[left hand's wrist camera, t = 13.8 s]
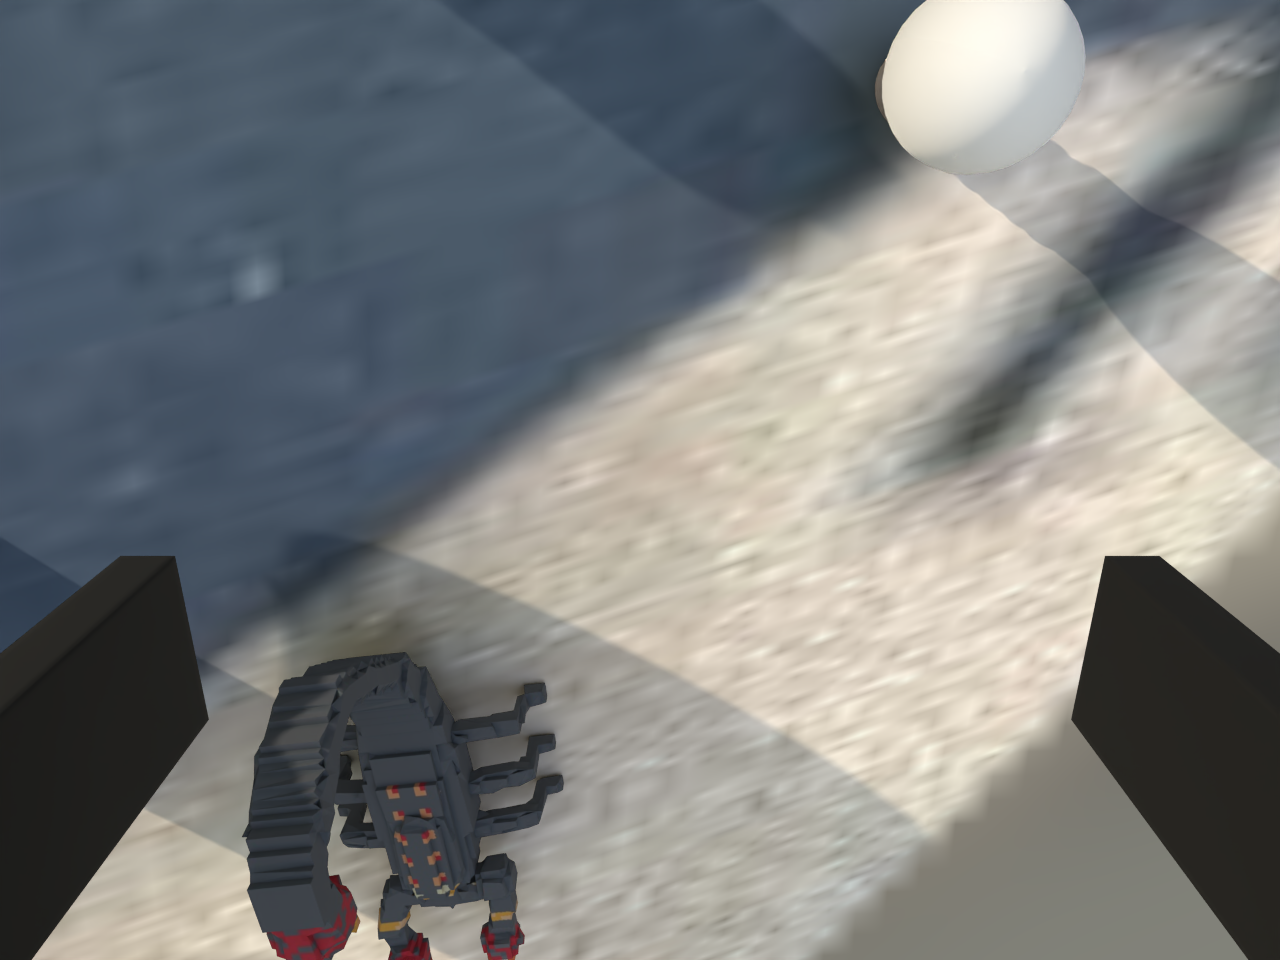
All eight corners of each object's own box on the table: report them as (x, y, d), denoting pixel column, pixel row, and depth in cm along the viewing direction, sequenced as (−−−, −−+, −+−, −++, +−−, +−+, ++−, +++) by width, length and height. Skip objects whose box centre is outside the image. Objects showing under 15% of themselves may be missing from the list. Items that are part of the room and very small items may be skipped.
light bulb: (820, 132, 40) (883, 131, 30) (892, -28, 38) (987, -88, 27) (953, 192, 41) (1058, 212, 31) (1031, 40, 39) (1173, 7, 28)
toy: (517, 538, 47) (447, 767, 30) (589, 919, 57) (567, 1258, 40) (269, 566, 48) (62, 807, 31) (382, 938, 57) (272, 1281, 40)
